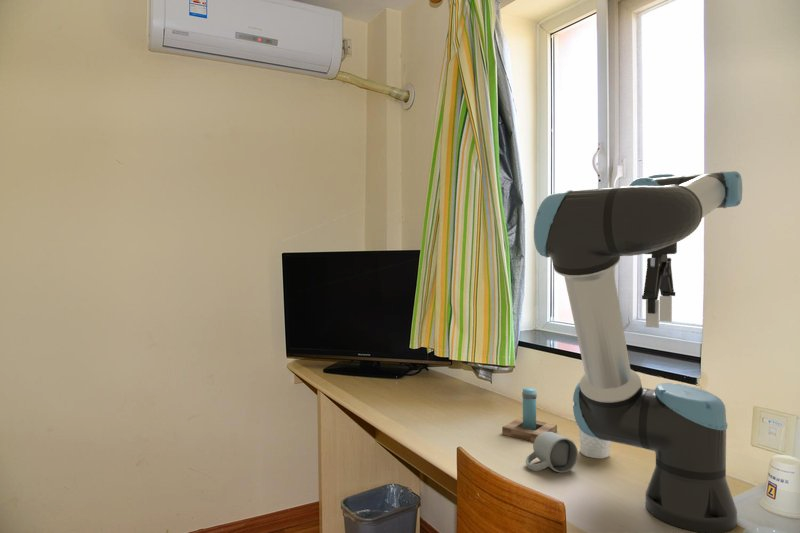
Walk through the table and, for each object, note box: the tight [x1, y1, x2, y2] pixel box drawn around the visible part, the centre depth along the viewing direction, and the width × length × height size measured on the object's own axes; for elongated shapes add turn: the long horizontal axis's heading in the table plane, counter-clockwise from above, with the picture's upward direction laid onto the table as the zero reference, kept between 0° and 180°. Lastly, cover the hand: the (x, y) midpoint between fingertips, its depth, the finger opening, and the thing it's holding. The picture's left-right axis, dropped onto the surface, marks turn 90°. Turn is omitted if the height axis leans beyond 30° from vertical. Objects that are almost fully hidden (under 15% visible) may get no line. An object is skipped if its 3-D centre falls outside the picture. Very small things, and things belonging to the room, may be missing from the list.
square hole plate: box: [501, 416, 558, 443], centre depth 144 cm, size 11×11×2 cm
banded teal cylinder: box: [521, 387, 538, 431], centre depth 144 cm, size 4×4×12 cm
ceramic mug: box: [525, 432, 579, 474], centre depth 121 cm, size 11×8×8 cm
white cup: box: [578, 427, 612, 460], centre depth 129 cm, size 8×8×10 cm
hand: (659, 324), depth 129 cm, fingers open, 13 cm apart
